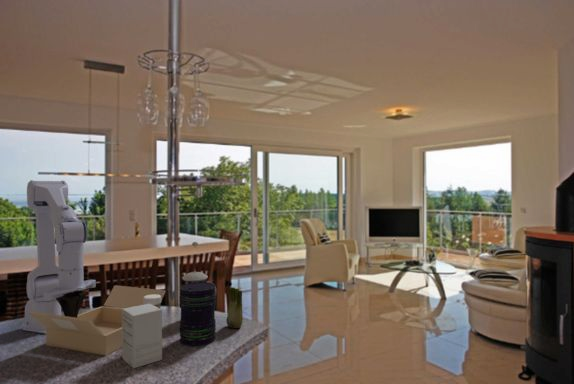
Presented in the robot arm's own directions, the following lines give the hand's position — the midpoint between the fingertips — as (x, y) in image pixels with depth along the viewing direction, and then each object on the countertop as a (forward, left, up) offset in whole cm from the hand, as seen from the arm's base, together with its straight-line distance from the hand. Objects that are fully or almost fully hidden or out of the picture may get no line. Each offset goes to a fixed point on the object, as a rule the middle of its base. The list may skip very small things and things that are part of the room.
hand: (71, 321), depth 106 cm
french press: (+17, +33, -8) cm, 38 cm away
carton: (0, +11, -8) cm, 14 cm away
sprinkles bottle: (+17, +10, -8) cm, 21 cm away
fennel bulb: (+31, +31, -8) cm, 45 cm away
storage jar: (+26, +18, -8) cm, 33 cm away
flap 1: (0, -1, 0) cm, 1 cm away
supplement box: (+20, +2, -8) cm, 22 cm away
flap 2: (0, +24, 0) cm, 24 cm away
